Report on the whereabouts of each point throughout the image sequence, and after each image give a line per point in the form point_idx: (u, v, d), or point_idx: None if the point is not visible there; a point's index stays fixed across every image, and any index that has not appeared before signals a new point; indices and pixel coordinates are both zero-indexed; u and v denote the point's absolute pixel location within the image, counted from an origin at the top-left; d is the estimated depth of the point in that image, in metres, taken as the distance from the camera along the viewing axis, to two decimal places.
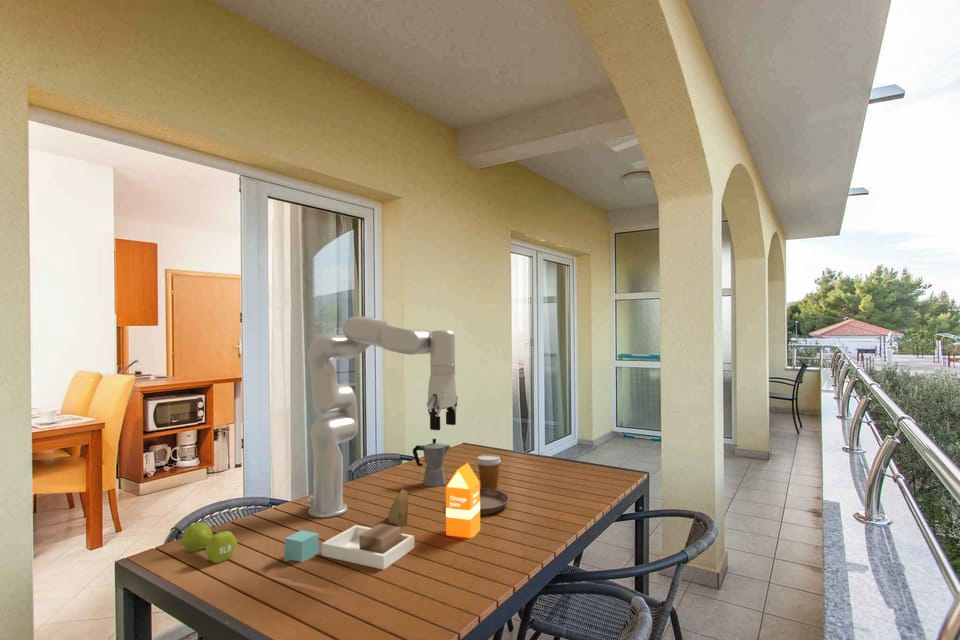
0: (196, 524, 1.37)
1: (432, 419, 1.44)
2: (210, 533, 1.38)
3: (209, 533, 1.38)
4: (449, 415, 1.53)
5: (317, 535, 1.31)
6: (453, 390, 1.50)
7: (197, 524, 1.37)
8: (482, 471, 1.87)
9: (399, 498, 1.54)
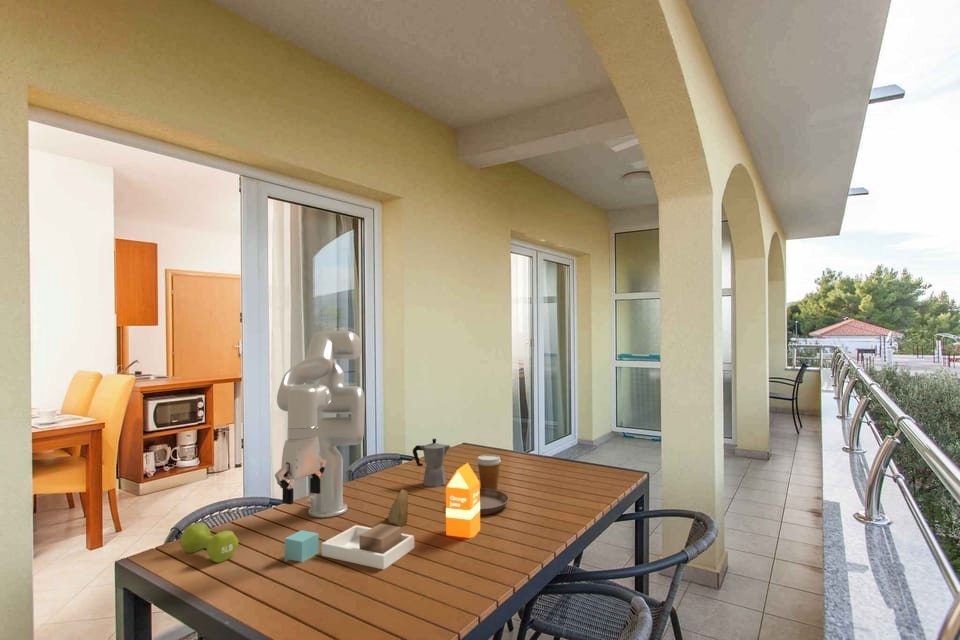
0: (195, 524, 1.36)
1: (284, 492, 1.26)
2: (209, 533, 1.38)
3: (208, 533, 1.37)
4: (313, 482, 1.35)
5: (317, 535, 1.31)
6: (315, 455, 1.32)
7: (196, 524, 1.36)
8: (482, 471, 1.87)
9: (399, 498, 1.54)
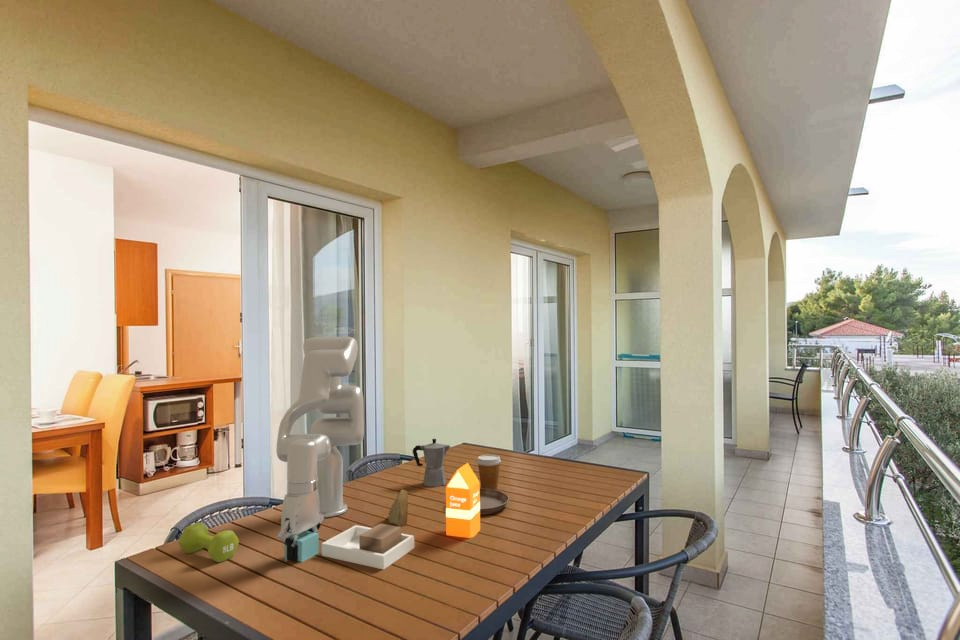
0: (193, 525, 1.36)
1: (288, 549, 1.27)
2: (207, 533, 1.38)
3: (207, 533, 1.37)
4: None
5: (317, 535, 1.31)
6: (315, 508, 1.32)
7: (194, 525, 1.36)
8: (482, 471, 1.87)
9: (399, 498, 1.54)
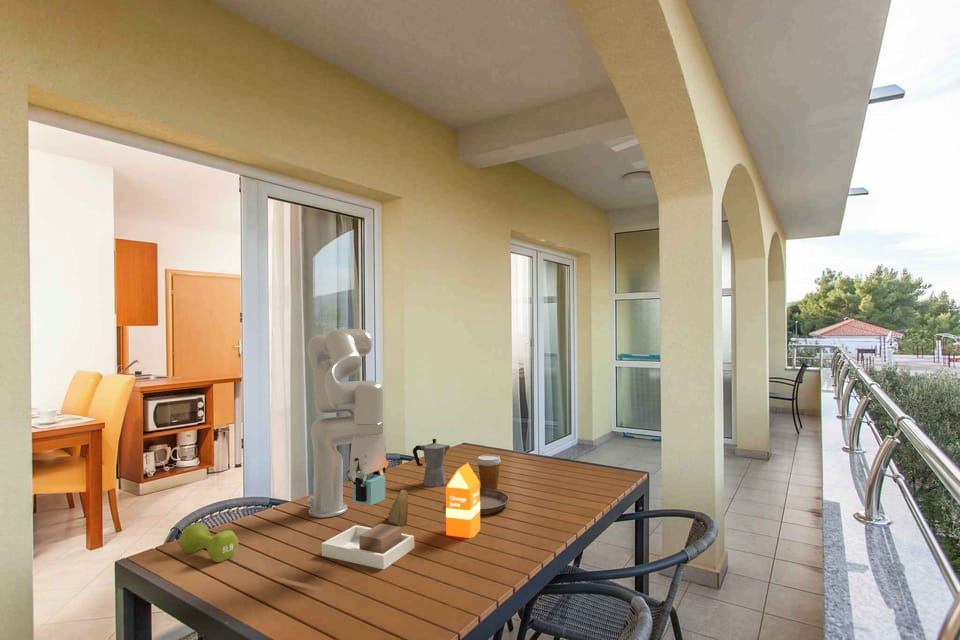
0: (194, 525, 1.36)
1: (357, 489, 1.27)
2: (208, 533, 1.38)
3: (207, 533, 1.37)
4: None
5: (384, 477, 1.32)
6: (381, 451, 1.32)
7: (195, 525, 1.36)
8: (482, 471, 1.87)
9: (399, 498, 1.54)
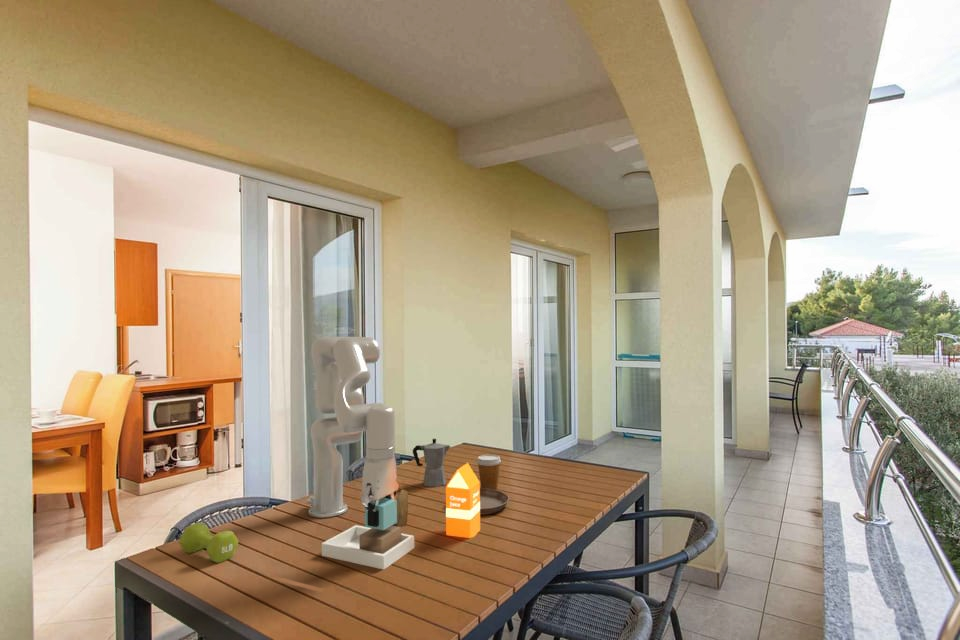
0: (194, 525, 1.36)
1: (369, 514, 1.27)
2: (208, 533, 1.38)
3: (207, 533, 1.37)
4: None
5: (395, 501, 1.32)
6: (393, 475, 1.32)
7: (195, 525, 1.36)
8: (482, 471, 1.87)
9: (399, 498, 1.54)
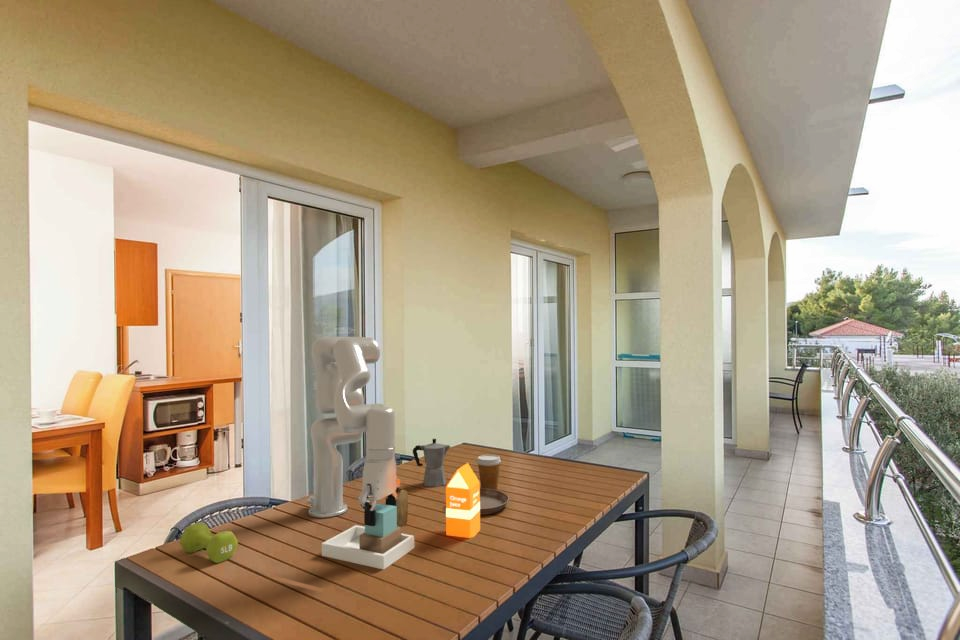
0: (195, 524, 1.36)
1: (366, 513, 1.26)
2: (209, 533, 1.38)
3: (208, 533, 1.37)
4: (389, 503, 1.35)
5: (395, 508, 1.32)
6: (393, 475, 1.32)
7: (196, 524, 1.36)
8: (482, 471, 1.87)
9: (399, 498, 1.54)
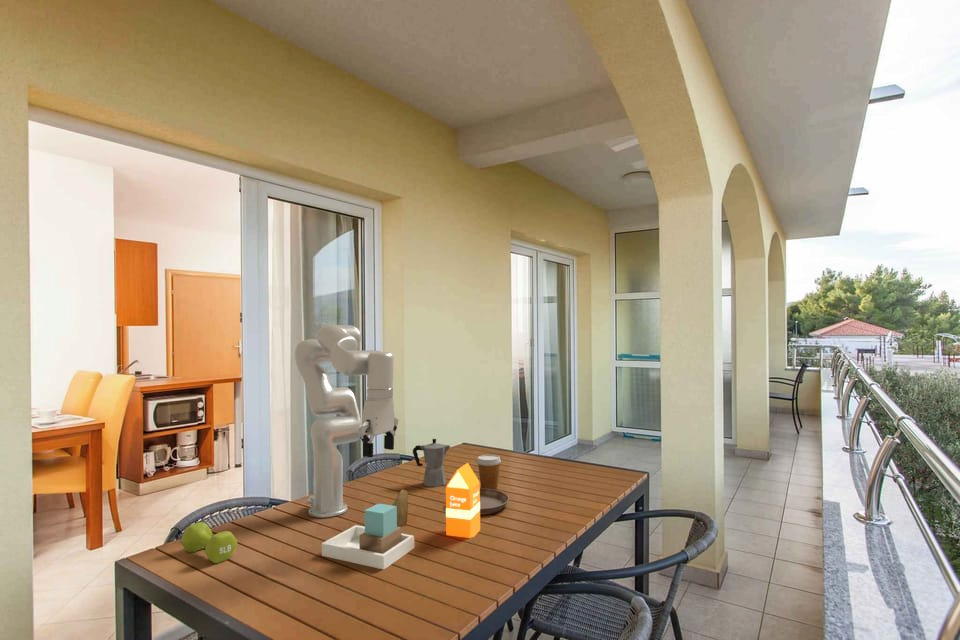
0: (196, 524, 1.36)
1: (365, 446, 1.38)
2: (210, 533, 1.38)
3: (209, 533, 1.38)
4: (387, 439, 1.48)
5: (395, 508, 1.32)
6: (390, 414, 1.45)
7: (197, 524, 1.36)
8: (482, 471, 1.87)
9: (399, 498, 1.54)
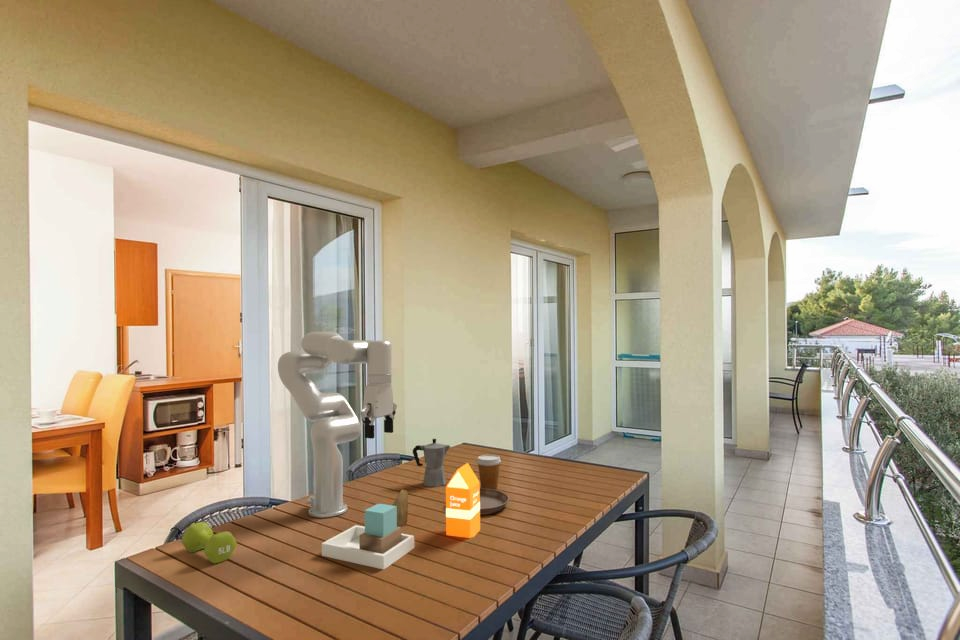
0: (196, 524, 1.37)
1: (366, 427, 1.47)
2: (210, 533, 1.38)
3: (209, 533, 1.38)
4: (387, 423, 1.57)
5: (395, 508, 1.32)
6: (390, 399, 1.54)
7: (197, 524, 1.37)
8: (482, 471, 1.87)
9: (399, 498, 1.54)
